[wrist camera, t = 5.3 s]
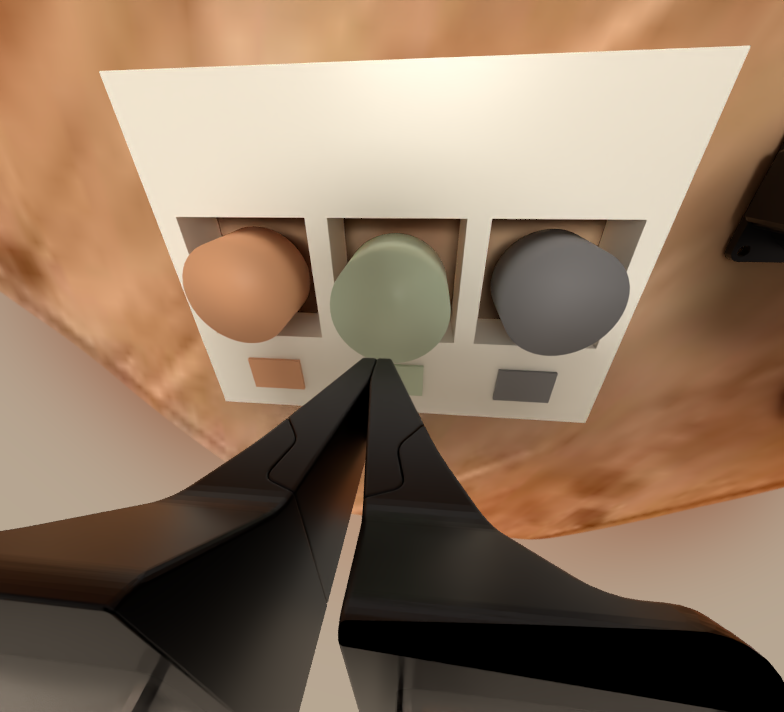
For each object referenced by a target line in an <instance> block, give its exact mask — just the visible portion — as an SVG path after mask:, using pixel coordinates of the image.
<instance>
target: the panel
mask: <svg viewBox="0 0 784 712" xmlns="http://www.w3.org/2000/svg"><path fill="white" fill-rule="evenodd" d="M750 47H751V46H730V47H704V48H678V49H653V50H627V51H602V52H576V53H551V54H525V55H499V56H474V57H448V58H423V59H397V60H371V61H346V62H320V63H295V64H269V65H244V66H218V67H192V68H167V69H141V70H116V71H99V72H100V75H101V78H102V80H103V83H104V85H105V88H106V91H107V93H108V96H109V98H110V101H111V104H112V106H113V109H114V111H115V114H116V117H117V119H118V122H119V124H120V127H121V130H122V132H123V135H124V137H125V140H126V142H127V145H128V148H129V150H130V153H131V155H132V158H133V161H134V163H135V166H136V168H137V171H138V174H139V176H140V179H141V181H142V184H143V187H144V189H145V192H146V194H147V197H148V200H149V202H150V205H151V207H152V210H153V213H154V215H155V218H156V220H157V223H158V226H159V228H160V231H161V233H162V236H163V238H164V241H165V244H166V246H167V249H168V251H169V254H170V257H171V259H172V262H173V264H174V267H175V270H176V272H177V275H178V277H179V280H180V283H181V285H182V288H183V290H184V287H183V279H182V274H183V267H184V263H185V261H186V259H187V257H188V256H189V254H190V253H191V252H192V251H193V250H194V249H196V248H197V247H199V246H200V245H203V244H205V243H207V242H210V241H212V240H215V239H217V238H220V237H222V235H221V232H220V228H219V225H218V221H217V218H216V217H274V218H304V219H305V226H306V232H307V239H308V246H309V253H310V259H311V266H312V273H313V279H314V286H315V293H316V299H317V306H318V313H299V312H296V314H295V315H294V316H293V317H292V318H291V320H290V321H289V322H288V323H287V325H286V326H285V327H284V328H283V329H282V331H281V332H280V333H279V334H278V335H277V336H275V337H273V338H272V339H270V340H268V341H264V342H260V343H244V342H239V341H235V340H232V339H230V338H227V337H225V336H223V335H221V334H219V333H218V332H216V331H215V330H213V329H212V328H211V327H209V326H208V325H207V324H206V323H205V322H204V321H203V320H202V319H201V318H200V317H199V316H198V315H197V314H196V312H195V311H194V309H193V308H192V306H191V305H190V303H189V301H188V299H187V301H188V303H189V306H190V309H191V311H192V314H193V316H194V319H195V322H196V324H197V327H198V329H199V332H200V334H201V337H202V340H203V342H204V345H205V347H206V350H207V353H208V355H209V358H210V360H211V363H212V366H213V368H214V371H215V373H216V376H217V379H218V381H219V384H220V386H221V389H222V392H223V394H224V397H225V399H226V401H232V402H249V403H265V404H282V405H298V406H303V405H304V404H306V403H307V402H308V401H309V400H311V399H312V398H313V397H314V396H316V395H317V394H318V393H319V392H321V391H322V390H323V389H324V388H326V387H327V386H328V385H329V384H331V383H332V382H333V381H334V380H336V379H337V378H338V377H339V376H341V375H342V374H343V373H344V372H346V371H347V370H348V369H349V368H351V367H352V366H353V365H354V364H356V363H357V362H358V361H360V360H361V359H362V358H367V357H364V356H362V355H361V354H359V353H357V352H356V351H354V350H353V349H352V348H350V347H349V346H348V345H347V344H346V343H345V342H344V340H343V339H342V338H341V337H340V335H339V334H338V332H337V330H336V328H335V326H334V324H333V321H332V318H331V313H330V296H331V292H332V288H333V286H334V283H335V281H336V279H337V278H338V276H339V275H340V273H341V272H342V271H343V269H344V268H345V266H346V265H347V264H348V263H347V252H346V240H345V229H344V218H443V219H460V229H459V239H458V250H457V260H456V270H455V280H454V290H453V300H452V310H451V318H450V321H449V325H448V328H447V330H446V332H445V334H444V336H443V338H442V339H441V341H440V342H439V343H438V344H437V345H436V346H435V347H434V348H433V349H432V350H431V351H430V352H428V353H427V354H425V355H423V356H421V357H419V358H417V359H414V360H412V361H408V362H402V363H394V365H395V367H396V369H397V371H398V373H399V375H400V377H401V379H402V381H403V383H404V385H405V388H406V390H407V392H408V394H409V396H410V398H411V400H412V402H413V404H414V406H415V408H416V410H417V412H418V413H430V414H446V415H463V416H479V417H496V418H512V419H529V420H545V421H562V422H578V423H585V422H586V420H587V418H588V416H589V413H590V411H591V409H592V406H593V404H594V402H595V400H596V397H597V395H598V393H599V390H600V388H601V386H602V384H603V381H604V379H605V377H606V375H607V372H608V370H609V368H610V365H611V363H612V361H613V359H614V356H615V354H616V352H617V349H618V347H619V345H620V343H621V340H622V338H623V336H624V334H625V331H626V329H627V327H628V324H629V322H630V320H631V318H632V315H633V313H634V311H635V308H636V306H637V304H638V302H639V299H640V297H641V295H642V293H643V290H644V288H645V286H646V283H647V281H648V279H649V277H650V274H651V272H652V270H653V268H654V265H655V263H656V261H657V258H658V256H659V254H660V252H661V249H662V247H663V245H664V242H665V240H666V238H667V236H668V233H669V231H670V229H671V227H672V224H673V222H674V220H675V217H676V215H677V213H678V211H679V208H680V206H681V204H682V201H683V199H684V197H685V195H686V192H687V190H688V188H689V186H690V183H691V181H692V179H693V176H694V174H695V172H696V170H697V167H698V165H699V163H700V160H701V158H702V156H703V154H704V151H705V149H706V147H707V145H708V142H709V140H710V138H711V135H712V133H713V131H714V129H715V126H716V124H717V122H718V120H719V117H720V115H721V113H722V110H723V108H724V106H725V104H726V101H727V99H728V97H729V94H730V92H731V90H732V88H733V85H734V83H735V81H736V79H737V76H738V74H739V72H740V69H741V67H742V65H743V63H744V60H745V58H746V56H747V53H748V51H749V49H750ZM492 219H607V222H606V225H605V228H604V231H603V234H602V237H601V240H600V243H599V246H598V247H600V248H601V249H603V250H605V251H607V252H608V253H610V254H612V255H613V256H614V257H616V258H617V259H618V260H619V261H620V262H621V264H622V265H623V266H624V268H625V270H626V272H627V275H628V278H629V284H630V294H629V299H628V303H627V306H626V309H625V311H624V313H623V315H622V316H621V318H620V319H619V321H618V322H617V324H616V325H615V326H614V327H613V328H612V329H611V330H610V331H609V332H608V333H607V334H606V335H605V336H604V337H602V338H601V339H600V340H598V341H597V342H595V343H594V344H592V345H590V346H588V347H586V348H584V349H582V350H579V351H577V352H573V353H570V354H565V355H558V356H544V355H538V354H533V353H531V352H528V351H526V350H524V349H522V348H520V347H519V346H517V345H516V344H515V343H514V342H513V341H512V340H511V339H510V337H509V336H508V334H507V333H506V331H505V328H504V326H503V324H502V321H501V319H477V318H478V311H479V304H480V298H481V291H482V284H483V277H484V271H485V264H486V257H487V251H488V244H489V237H490V230H491V224H492ZM184 293H185V291H184ZM185 296H186V294H185ZM186 298H187V296H186Z"/></svg>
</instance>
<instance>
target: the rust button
mask: <svg viewBox="0 0 784 712" xmlns="http://www.w3.org/2000/svg"><path fill="white" fill-rule="evenodd" d="M182 279H183V287H184V291H185V294H186V296H187V299H188V301H189V303H190V305H191V306H192V308H193V309H194V311H195V312H196V314H197V315H198V316H199V317H200V318H201V319H202V320H203V321H204V322H205V323H206V324H207V325H208V326H209V327H211V328H212V329H213V330H215V331H216V332H218V333H219V334H221V335H223V336H225V337H227V338H230V339H232V340H235V341H239V342H244V343H260V342H264V341H268V340H270V339H272V338H273V337H275V336H277V335H278V334H279V333H280V332H281V331H282V329H283V328H284V327H285V326H286V325H287V323H288V322H289V321H290V320H291V318H292V317H293V316H294V315H295V314H296V312H297V311H298V310H299V309H300V308H301V306H302V305H303V304H304V302H305V301H306V299H307V297H308V294H309V290H310V275H309V270H308V267H307V264H306V262H305V260H304V258H303V256H302V255H301V253H300V252H299V251H298V249H297V248H296V247H295V246H294V245H293V244H292V243H291V242H290V241H289V240H288V239H287V238H285V237H284V236H282V235H281V234H279V233H277V232H275V231H273V230H270V229H267V228H263V227H255V226H253V227H245V228H241V229H239V230H236V231H234V232H232V233H229V234H227V235H224V236H222V237H220V238H217V239H215V240H212V241H210V242H207V243H205V244H203V245H200V246H199V247H197V248H196V249H194V250H193V251H192V252H191V253H190V254H189V256H188V257H187V259H186V261H185V263H184V267H183V274H182Z"/></svg>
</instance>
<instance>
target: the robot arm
mask: <svg viewBox="0 0 784 712" xmlns="http://www.w3.org/2000/svg"><path fill="white" fill-rule="evenodd" d="M743 246H744V247H743ZM741 247H743V250H742V251H741V252H739V253H738V254H737V252H738V250H739V249H740V248H741ZM725 257H726V258H727V259H730V260H733V261H737V262H784V143H783V145H782V147H781V149H780V150H779V152H778V154H777V156H776V158H775V159H774V161H773V163H772V165H771V167H770V169H769V170H768V172H767V174H766V176H765V178H764V180H763V181H762V183H761V185H760V187H759V189H758V191H757V192H756V194H755V196H754V198H753V200H752V202H751V203H750V205H749V207H748V209H747V211H746V213H745V214H744V216H743V218H742V220H741V222H740V224H739V225H738V227H737V229H736V231H735V233H734V235H733V236H732V238H731V240H730V242H729V244H728V246H727V247H726V250H725ZM364 463H365V478H364V497H363V498H364V501H363V514H362V523H361V528H360V532H359V536H358V541H357V545H356V549H355V554H354V558H353V562H352V566H351V571H350V575H349V579H348V583H347V588H346V592H345V597H344V600H343V606H342V610H341V614H340V621H339V628H338V641H339V645H340V648H341V652H342V655H343V658H344V662H345V665H346V669H347V672H348V675H349V679H350V682H351V686H352V689H353V692H354V696H355V699H356V702H357V706H358V709H359V712H784V682H783V680H782V678H781V676H780V675H779V674H778V673H777V671H776V670H775V669H774V667H773V666H772V665H771V664H770V663H769V661H768V660H767V659H765V658H764V657H763V656H762V655H760V654H759V653H758V652H757V651H755V649H753V648H752V647H751V646H750V645H748V644H747V643H745V642H744V641H743V640H741V639H740V638H738V637H737V636H736V635H734V634H733V633H731V632H730V631H728V630H726V629H725V628H723V627H722V626H720V625H719V624H718V623H716V622H715V621H713V620H712V619H710V618H709V617H707V616H705V615H704V614H702V613H700V612H698V611H696V610H693V609H691V608H687V607H684V606H681V605H676V604H670V603H663V602H651V601H642V600H635V599H629V598H624V597H620V596H617V595H614V594H610V593H607V592H604V591H602V590H599V589H597V588H595V587H592V586H590V585H588V584H586V583H584V582H582V581H581V580H579V579H577V578H575V577H573V576H572V575H570V574H568V573H567V572H565V571H563V570H562V569H560V568H559V567H557V566H555V565H554V564H552V563H550V562H549V561H547V560H545V559H544V558H542V557H541V556H539V555H537V554H536V553H534V552H532V551H531V550H529V549H527V548H526V547H524V546H522V545H521V544H519V543H518V542H516V541H514V540H513V539H511V538H509V537H508V536H506V535H504V534H503V533H501V532H500V531H498V530H497V529H496V528H495V527H494V526H492V525H491V524H490V523H489V522H488V521H487V520H486V518H485V517H484V516H483V515H482V514H481V512H480V511H479V510H478V508H477V507H476V506H475V504H474V503H473V501H472V500H471V498H470V497H469V496H468V494H467V493H466V491H465V490H464V489H463V487H462V486H461V484H460V483H459V481H458V480H457V479H456V477H455V476H454V474H453V473H452V471H451V470H450V469H449V467H448V466H447V464H446V463H445V461H444V460H443V458H442V457H441V455H440V454H439V452H438V450H437V449H436V447H435V445H434V443H433V441H432V440H431V438H430V436H429V434H428V432H427V430H426V428H425V427H424V424H423V422H422V420H421V418H420V416H419V414H418V412H417V410H416V408H415V406H414V404H413V402H412V400H411V398H410V396H409V394H408V392H407V390H406V388H405V385H404V383H403V381H402V379H401V377H400V375H399V373H398V371H397V369H396V367H395V365H394V363H393V361H392V360H391V359H387V358H379V359H376V358H362V359H361V360H360V361H358V362H357V363H356V364H354V365H353V366H352V367H351V368H349V369H348V370H347V371H346V372H344V373H343V374H342V375H341V376H339V377H338V378H337V379H336V380H334V381H333V382H332V383H331V384H329V385H328V386H327V387H326V388H324V389H323V390H322V391H321V392H319V393H318V394H317V395H316V396H314V397H313V398H312V399H311V400H309V401H308V402H307V403H306V404H304V405H303V406H302V407H301V408H299V409H298V410H297V411H296V412H294V413H293V414H292V415H291V416H289V418H288V419H286V420H284V421H283V422H282V423H280V424H279V425H278V426H277V427H275V428H274V429H273V430H271V431H270V432H269V433H268V434H266V435H265V436H264V437H262V438H261V439H260V440H258V441H257V442H255V443H254V444H252V445H251V446H249V447H248V448H247V449H245V450H244V451H242V452H241V453H239V454H238V455H236V456H235V457H233V458H232V459H230V460H229V461H227V462H226V463H224V464H223V465H221V466H220V467H218V468H217V469H215V470H214V471H212V472H211V473H209V474H208V475H206V476H205V477H203V478H202V479H200V480H199V481H197V482H195V483H194V484H192V485H191V486H189V487H188V488H186V489H184V490H182V491H181V492H179V493H177V494H175V495H173V496H170V497H168V498H165V499H162V500H159V501H156V502H152V503H148V504H143V505H138V506H133V507H128V508H122V509H117V510H112V511H106V512H101V513H97V514H91V515H86V516H81V517H76V518H70V519H65V520H60V521H55V522H49V523H45V524H39V525H34V526H29V527H23V528H17V529H11V530H4V531H0V712H299V710H300V706H301V702H302V698H303V694H304V691H305V687H306V683H307V679H308V675H309V672H310V668H311V664H312V660H313V656H314V653H315V649H316V645H317V641H318V638H319V633H320V630H321V626H322V622H323V619H324V615H325V611H326V607H327V604H326V603H327V602H328V599H329V595H330V592H331V587H332V584H333V580H334V576H335V573H336V569H337V565H338V561H339V558H340V554H341V550H342V546H343V542H344V539H345V535H346V531H347V527H348V523H349V520H350V516H351V512H352V508H353V504H354V501H355V497H356V493H357V489H358V485H359V482H360V478H361V474H362V470H363V466H364Z"/></svg>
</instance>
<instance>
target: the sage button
mask: <svg viewBox="0 0 784 712" xmlns="http://www.w3.org/2000/svg"><path fill="white" fill-rule="evenodd" d="M330 313H331V318H332V321H333V324H334V326H335V328H336V330H337V332H338V334H339V335H340V337H341V338H342V339H343V340H344V342H345V343H346V344H347V345H348V346H349V347H350V348H352V349H353V350H354V351H356V352H357V353H359V354H361V355H362V356H364V357H367V358H376V359H379V358H387V359H391V360H392V361H393V363H402V362H408V361H412V360H414V359H417V358H419V357H421V356H423V355H425V354H427V353H428V352H430V351H431V350H432V349H433V348H434V347H435V346H436V345H437V344H438V343H439V342H440V341H441V339H442V338H443V336H444V334H445V332H446V330H447V328H448V325H449V321H450V315H451V306H450V298H449V290H448V283H447V275H446V271H445V267H444V265H443V263H442V261H441V259H440V257H439V256H438V254H437V253H436V252H435V251H434V250H433V249H432V248H431V247H430V246H429V245H428V244H427V243H425V242H424V241H422V240H420V239H418V238H416V237H414V236H411V235H407V234H401V233H389V234H384V235H380V236H377V237H375V238H373V239H371V240H369V241H367V242H366V243H365V244H363V245H362V246H361V247H360V248H359V249H358V250H357V252H356V253H355V254H354V255H353V257H352V258H351V260H350V261H349V262H348V264H347V265H346V266H345V268H344V269H343V271H342V272H341V273H340V275H339V276H338V278H337V279H336V281H335V283H334V286H333V288H332V292H331V296H330Z"/></svg>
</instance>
